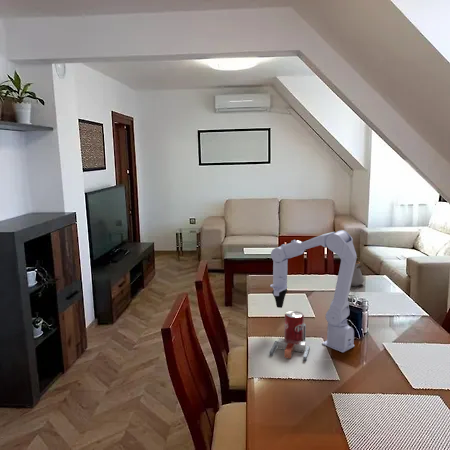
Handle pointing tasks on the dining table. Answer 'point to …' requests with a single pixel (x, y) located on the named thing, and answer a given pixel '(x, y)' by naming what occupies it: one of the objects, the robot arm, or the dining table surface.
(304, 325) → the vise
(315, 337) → the dining table surface
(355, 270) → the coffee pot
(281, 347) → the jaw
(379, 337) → the dining table surface
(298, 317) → the soda can
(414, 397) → the dining table surface
